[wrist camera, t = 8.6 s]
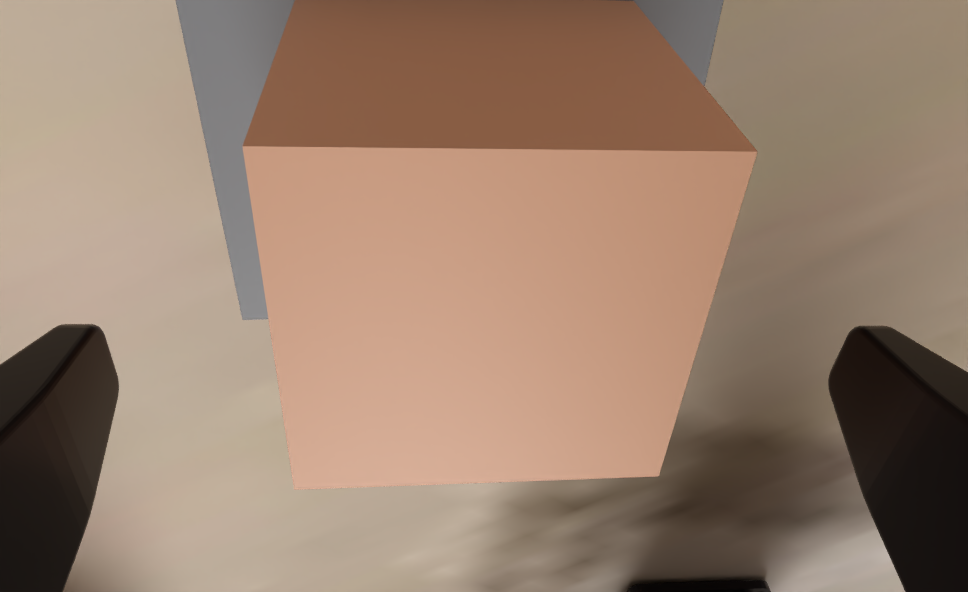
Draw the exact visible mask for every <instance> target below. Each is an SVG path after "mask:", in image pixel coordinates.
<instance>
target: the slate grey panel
mask: <svg viewBox="0 0 968 592" xmlns="http://www.w3.org/2000/svg"><path fill="white" fill-rule="evenodd" d="M294 1H295V0H176V5H177V9H178V14H179V19H180V24H181V29H182V33H183V38H184V43H185V48H186V52H187V57H188V62H189V67H190V71H191V76H192V81H193V86H194V91H195V95H196V100H197V105H198V110H199V114H200V119H201V124H202V129H203V133H204V138H205V143H206V148H207V153H208V157H209V162H210V167H211V172H212V176H213V181H214V186H215V191H216V195H217V200H218V205H219V210H220V215H221V219H222V224H223V229H224V234H225V238H226V243H227V248H228V253H229V257H230V262H231V267H232V272H233V277H234V281H235V286H236V291H237V296H238V300H239V305H240V310H241V315H242V319H243V320H254V319H268V313H267V306H266V299H265V293H264V286H263V280H262V273H261V266H260V260H259V253H258V246H257V240H256V233H255V227H254V220H253V213H252V207H251V200H250V193H249V187H248V180H247V174H246V167H245V160H244V154H243V147H242V146H243V143H244V140H245V138H246V135H247V132H248V129H249V126H250V124H251V121H252V118H253V115H254V113H255V110H256V107H257V104H258V101H259V99H260V96H261V93H262V90H263V87H264V85H265V82H266V79H267V76H268V74H269V71H270V68H271V65H272V62H273V60H274V57H275V54H276V51H277V48H278V46H279V43H280V40H281V37H282V35H283V32H284V29H285V26H286V23H287V21H288V18H289V15H290V12H291V9H292V7H293V4H294ZM614 1H634V2H635V3H636V4H637V6H638V7H639V8H640V9H641V10H642V12H643V13H644V14H645V15H646V17H647V18H648V19H649V20H650V21H651V23H652V24H653V25H654V26H655V28H656V29H657V30H658V31H659V32H660V34H661V35H662V36H663V37H664V38H665V40H666V41H667V42H668V43H669V45H670V46H671V47H672V48H673V49H674V51H675V52H676V53H677V54H678V56H679V57H680V58H681V59H682V60H683V62H684V63H685V64H686V65H687V66H688V68H689V69H690V70H691V71H692V73H693V74H694V75H695V76H696V77H697V79H698V80H699V81H700V82H701V83H702V85H703V86H705V82H706V77H707V73H708V68H709V64H710V59H711V55H712V50H713V46H714V41H715V37H716V32H717V27H718V23H719V18H720V14H721V9H722V5H723V0H614Z"/></svg>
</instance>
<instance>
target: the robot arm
mask: <svg viewBox="0 0 968 592" xmlns="http://www.w3.org/2000/svg"><path fill="white" fill-rule="evenodd" d="M828 385H829V392H830V396H831V399H832V402H833V405H834V408H835V411H836V414H837V417H838V420H839V424H840V427H841V430H842V433H843V436H844V439H845V442H846V445H847V448H848V451H849V455H850V458H851V461H852V464H853V467H854V470H855V473H856V476H857V479H858V482H859V485H860V488H861V491H862V493H863V496H864V499H865V501H866V504H867V506H868V508H869V511H870V513H871V516H872V518H873V520H874V522H875V525H876V527H877V529H878V531H879V534H880V536H881V538H882V540H883V543H884V545H885V547H886V549H887V551H888V554H889V556H890V558H891V560H892V563H893V565H894V567H895V569H896V572H897V574H898V576H899V578H900V581H901V583H902V585H903V587H904V590H905V592H968V372H966V371H964V370H963V369H961V368H959V367H958V366H956V365H954V364H953V363H951V362H949V361H947V360H946V359H944V358H942V357H941V356H939V355H937V354H936V353H934V352H932V351H930V350H929V349H927V348H925V347H924V346H922V345H920V344H919V343H917V342H915V341H913V340H912V339H910V338H908V337H907V336H905V335H903V334H901V333H900V332H898V331H896V330H895V329H893V328H891V327H887V326H858V327H855V328H854V329H852V330H851V331H850V332H849V334H848V336H847V338H846V340H845V342H844V344H843V346H842V348H841V350H840V352H839V355H838V357H837V359H836V361H835V363H834V365H833V367H832V369H831V372H830V375H829V384H828ZM118 392H119V382H118V376H117V373H116V370H115V366H114V363H113V360H112V357H111V354H110V351H109V347H108V344H107V341H106V338H105V335H104V333H103V331H102V330H101V328H100V327H98V326H96V325H93V324H64V325H59V326H57V327H55V328H53V329H52V330H50V331H49V332H47V333H46V334H44V335H43V336H42V337H40V338H39V339H37V340H36V341H34V342H33V343H31V344H30V345H28V346H27V347H25V348H24V349H22V350H21V351H19V352H18V353H17V354H15V355H14V356H12V357H11V358H9V359H8V360H6V361H5V362H3V363H2V364H0V592H63V590H64V587H65V585H66V582H67V579H68V576H69V574H70V571H71V568H72V565H73V563H74V560H75V557H76V554H77V552H78V549H79V546H80V543H81V541H82V538H83V535H84V532H85V529H86V526H87V523H88V520H89V517H90V514H91V510H92V506H93V502H94V498H95V495H96V490H97V486H98V481H99V477H100V473H101V468H102V464H103V460H104V455H105V451H106V447H107V442H108V438H109V434H110V429H111V425H112V421H113V416H114V412H115V408H116V403H117V399H118ZM628 592H771V591H770V589H769V586H768V584H767V582H766V581H762V580H752V581H721V582H690V583H660V584H638V585H634V586H632V587H631V588H629V590H628Z"/></svg>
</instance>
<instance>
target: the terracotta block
mask: <svg viewBox="0 0 968 592" xmlns="http://www.w3.org/2000/svg"><path fill="white" fill-rule="evenodd" d="M242 147H243V154H244V160H245V167H246V174H247V180H248V187H249V193H250V200H251V207H252V213H253V220H254V227H255V233H256V240H257V246H258V253H259V260H260V266H261V273H262V280H263V286H264V293H265V299H266V306H267V313H268V319H269V326H270V333H271V339H272V346H273V352H274V359H275V366H276V372H277V379H278V386H279V392H280V399H281V405H282V412H283V419H284V425H285V432H286V439H287V445H288V452H289V458H290V465H291V472H292V478H293V485H294V490H299V489H327V488H354V487H381V486H408V485H436V484H463V483H490V482H518V481H545V480H572V479H599V478H627V477H654V476H659V474H660V470H661V467H662V464H663V461H664V457H665V454H666V451H667V447H668V444H669V441H670V438H671V434H672V431H673V428H674V425H675V421H676V418H677V415H678V411H679V408H680V405H681V402H682V398H683V395H684V392H685V388H686V385H687V382H688V379H689V375H690V372H691V369H692V365H693V362H694V359H695V356H696V352H697V349H698V346H699V342H700V339H701V336H702V333H703V329H704V326H705V323H706V320H707V316H708V313H709V310H710V306H711V303H712V300H713V297H714V293H715V290H716V287H717V283H718V280H719V277H720V274H721V270H722V267H723V264H724V260H725V257H726V254H727V251H728V247H729V244H730V241H731V237H732V234H733V231H734V228H735V224H736V221H737V218H738V215H739V211H740V208H741V205H742V201H743V198H744V195H745V192H746V188H747V185H748V182H749V178H750V175H751V172H752V169H753V165H754V162H755V159H756V155H757V150H756V149H755V148H754V147H753V146H752V144H751V143H750V142H749V141H748V139H747V138H746V137H745V136H744V135H743V133H742V132H741V131H740V130H739V129H738V127H737V126H736V125H735V124H734V122H733V121H732V120H731V119H730V118H729V116H728V115H727V114H726V113H725V111H724V110H723V109H722V108H721V107H720V105H719V104H718V103H717V102H716V101H715V99H714V98H713V97H712V96H711V94H710V93H709V92H708V91H707V90H706V88H705V87H704V86H703V85H702V83H701V82H700V81H699V80H698V79H697V77H696V76H695V75H694V74H693V73H692V71H691V70H690V69H689V68H688V66H687V65H686V64H685V63H684V62H683V60H682V59H681V58H680V57H679V56H678V54H677V53H676V52H675V51H674V49H673V48H672V47H671V46H670V45H669V43H668V42H667V41H666V40H665V38H664V37H663V36H662V35H661V34H660V32H659V31H658V30H657V29H656V28H655V26H654V25H653V24H652V23H651V21H650V20H649V19H648V18H647V17H646V15H645V14H644V13H643V12H642V10H641V9H640V8H639V7H638V6H637V4H636V3H635V2H634V1H614V0H295V1H294V4H293V7H292V9H291V12H290V15H289V18H288V21H287V23H286V26H285V29H284V32H283V35H282V37H281V40H280V43H279V46H278V48H277V51H276V54H275V57H274V60H273V62H272V65H271V68H270V71H269V74H268V76H267V79H266V82H265V85H264V87H263V90H262V93H261V96H260V99H259V101H258V104H257V107H256V110H255V113H254V115H253V118H252V121H251V124H250V126H249V129H248V132H247V135H246V138H245V140H244V143H243V146H242Z"/></svg>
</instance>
